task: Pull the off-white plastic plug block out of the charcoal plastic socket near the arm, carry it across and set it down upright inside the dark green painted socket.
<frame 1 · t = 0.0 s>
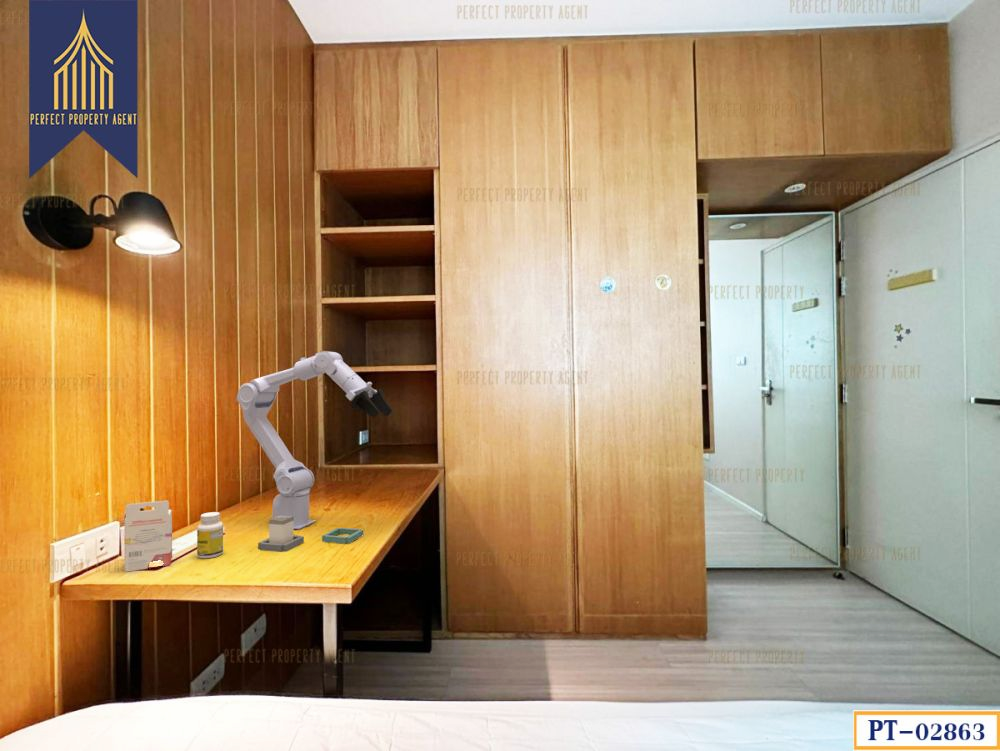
hand: (383, 414, 140), 32 cm above the table, tool tilted 50°, fingers open, 7 cm apart
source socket: (281, 545, 128), on the table
plug: (281, 531, 128), in the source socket
supplement bottle: (210, 555, 121), on the table
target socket: (343, 538, 134), on the table
ink cartridge box: (148, 566, 114), on the table
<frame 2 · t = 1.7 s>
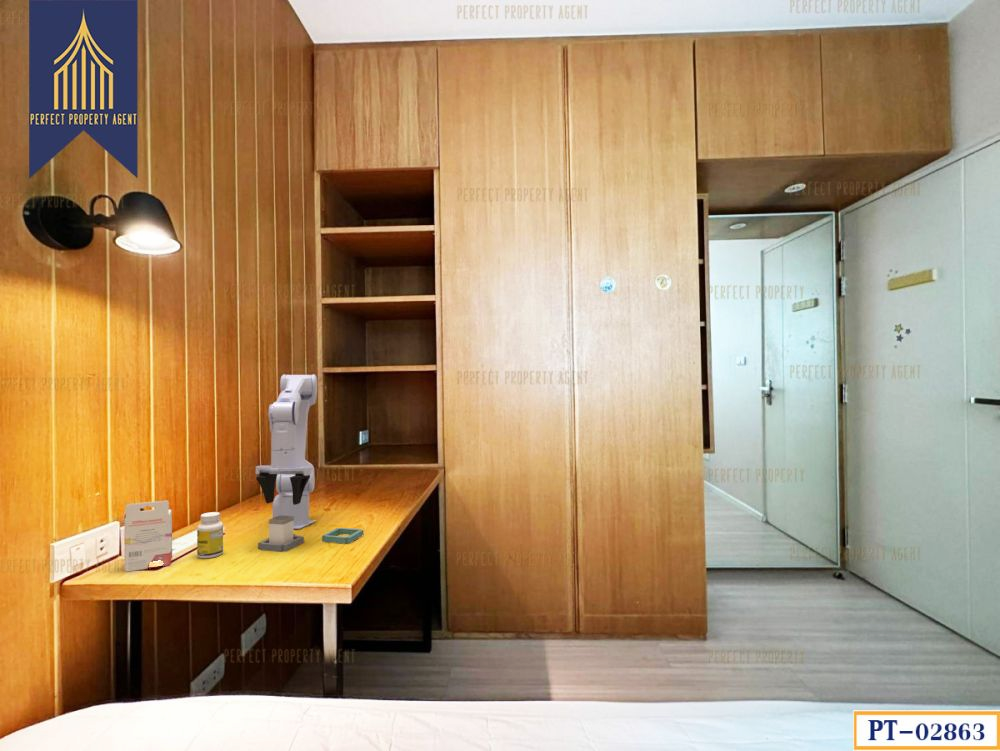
hand: (283, 503, 128), 11 cm above the table, tool pointing down, fingers open, 7 cm apart
nothing on the table moved.
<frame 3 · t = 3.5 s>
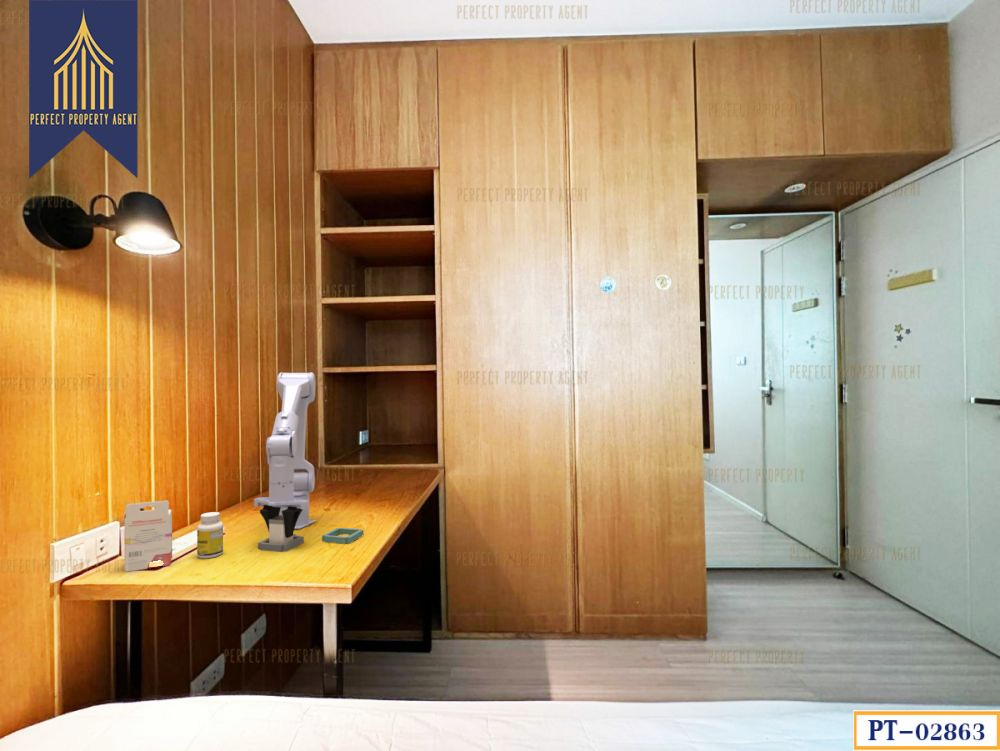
hand: (281, 536, 128), 2 cm above the table, tool pointing down, fingers closed on plug, 4 cm apart
plug: (281, 531, 128), in the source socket, touching gripper
everything else where it was.
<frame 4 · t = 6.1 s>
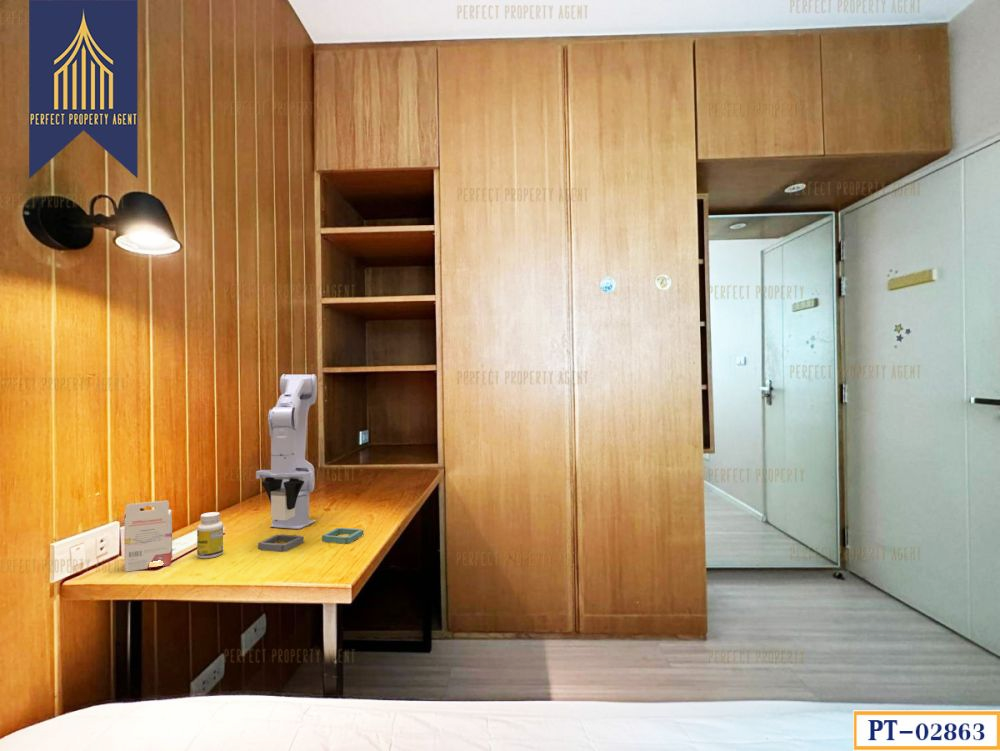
hand: (283, 508, 128), 9 cm above the table, tool pointing down, fingers closed on plug, 4 cm apart
plug: (283, 503, 128), point 10 cm above the table, touching gripper
everything else where it was.
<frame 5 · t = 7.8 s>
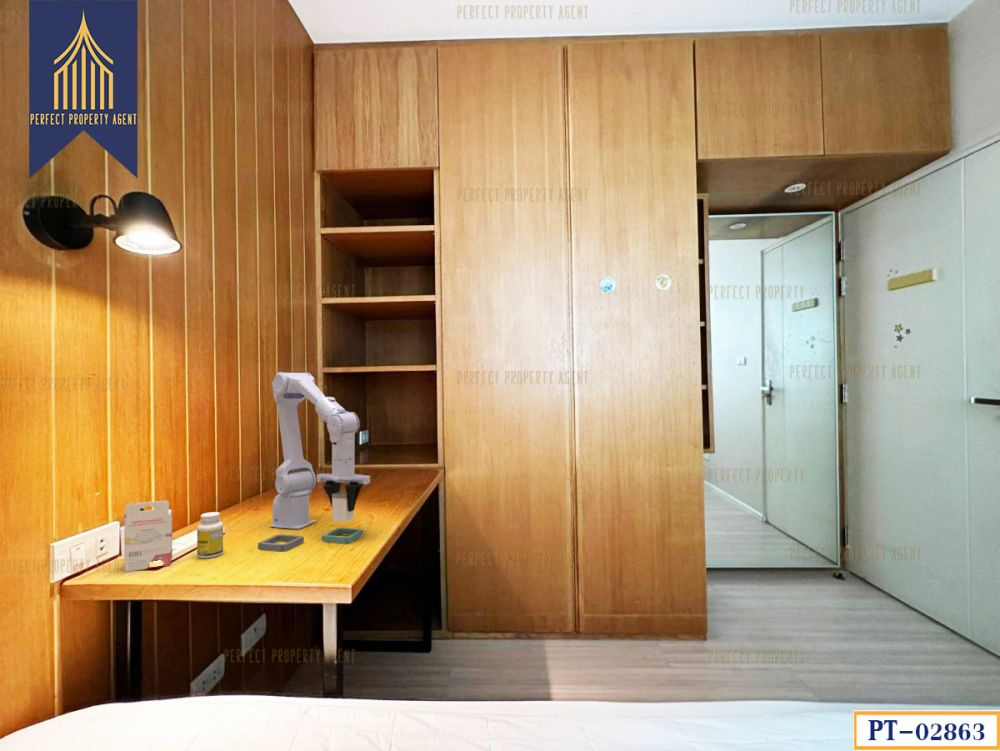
hand: (343, 510, 134), 7 cm above the table, tool pointing down, fingers closed on plug, 4 cm apart
plug: (343, 506, 134), point 8 cm above the table, touching gripper
everything else where it was.
when the fingers open (4 cm above the table, at t = 8.9 s): plug drops 2 cm, resting in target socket.
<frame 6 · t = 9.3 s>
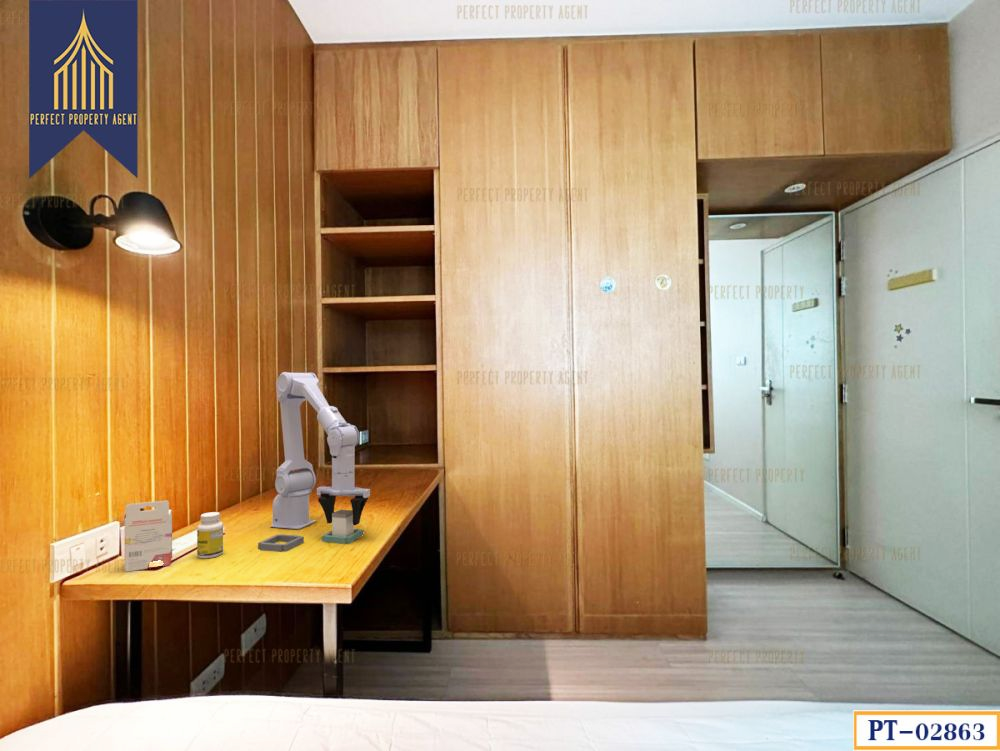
hand: (343, 523, 134), 4 cm above the table, tool pointing down, fingers open, 7 cm apart
plug: (343, 525, 134), in the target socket
everything else where it was.
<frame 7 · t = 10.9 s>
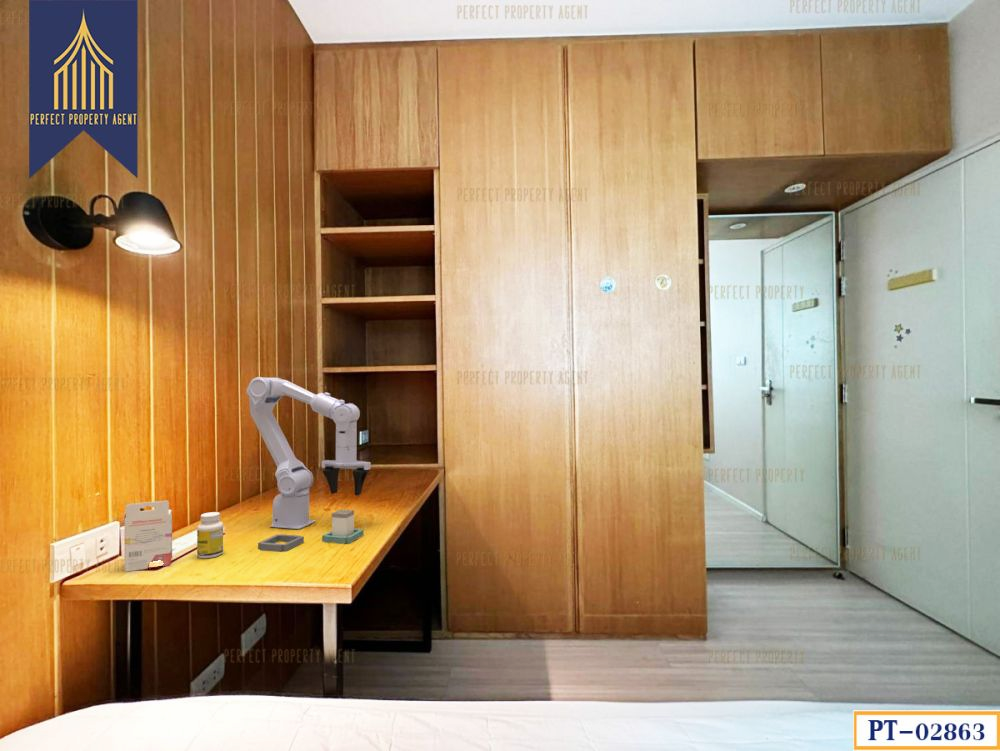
hand: (345, 493, 145), 9 cm above the table, tool pointing down, fingers open, 7 cm apart
nothing on the table moved.
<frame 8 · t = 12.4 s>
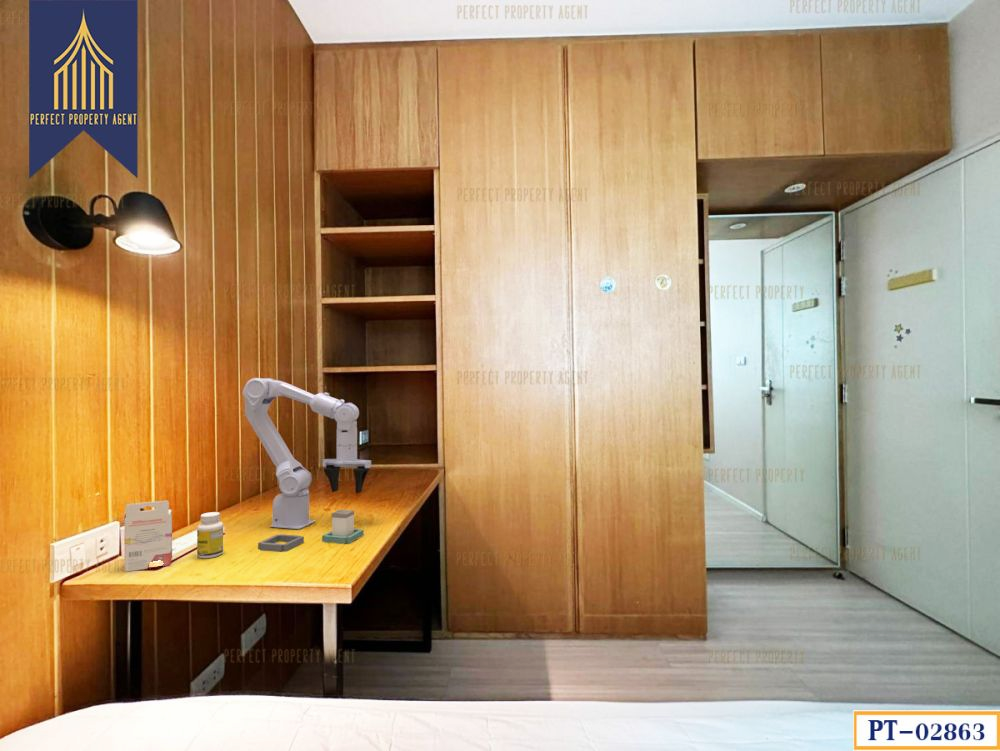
hand: (346, 491, 147), 9 cm above the table, tool pointing down, fingers open, 7 cm apart
nothing on the table moved.
at the end: plug 0.0 cm off-centre on the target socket, point 3.5 cm above the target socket's base; plug tilted 0°; the gripper is holding nothing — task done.
